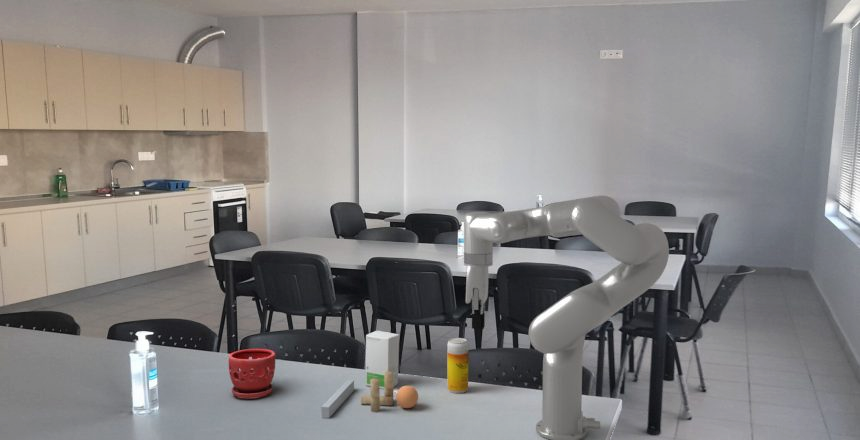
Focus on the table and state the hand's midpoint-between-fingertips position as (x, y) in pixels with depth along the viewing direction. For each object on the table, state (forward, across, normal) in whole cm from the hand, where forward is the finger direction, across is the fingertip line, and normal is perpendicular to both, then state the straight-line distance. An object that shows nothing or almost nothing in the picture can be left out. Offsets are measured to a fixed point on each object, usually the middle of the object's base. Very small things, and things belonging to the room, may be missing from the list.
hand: (478, 327), depth 184 cm
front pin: (+22, -1, -24) cm, 33 cm away
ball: (+20, 0, -20) cm, 28 cm away
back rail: (+23, 0, -39) cm, 45 cm away
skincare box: (+23, -17, -31) cm, 42 cm away
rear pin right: (+23, -4, -26) cm, 35 cm away
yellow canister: (+23, -16, -8) cm, 29 cm away
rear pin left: (+23, +4, -28) cm, 36 cm away
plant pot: (+23, -3, -66) cm, 70 cm away
